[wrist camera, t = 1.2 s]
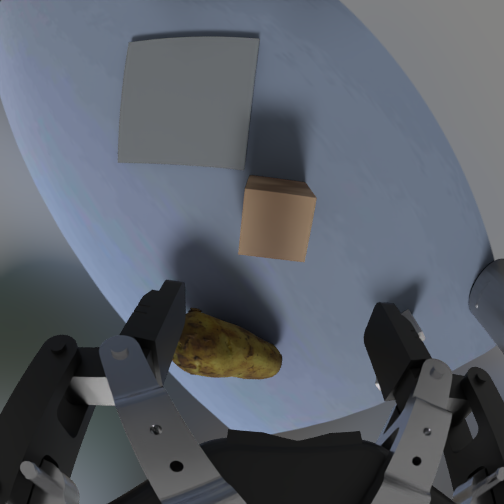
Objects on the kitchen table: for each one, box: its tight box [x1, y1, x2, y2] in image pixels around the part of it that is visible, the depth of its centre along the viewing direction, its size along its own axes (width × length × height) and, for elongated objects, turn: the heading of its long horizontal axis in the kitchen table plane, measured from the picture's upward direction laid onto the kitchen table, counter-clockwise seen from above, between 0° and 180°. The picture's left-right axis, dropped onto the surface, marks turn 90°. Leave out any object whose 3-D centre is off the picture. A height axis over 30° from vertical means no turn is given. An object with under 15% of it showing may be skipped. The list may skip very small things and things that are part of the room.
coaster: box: [118, 37, 260, 170], centre depth 22 cm, size 12×12×1 cm
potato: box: [172, 308, 282, 379], centre depth 28 cm, size 8×13×8 cm, turn 35°
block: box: [238, 175, 317, 262], centre depth 23 cm, size 5×5×6 cm
